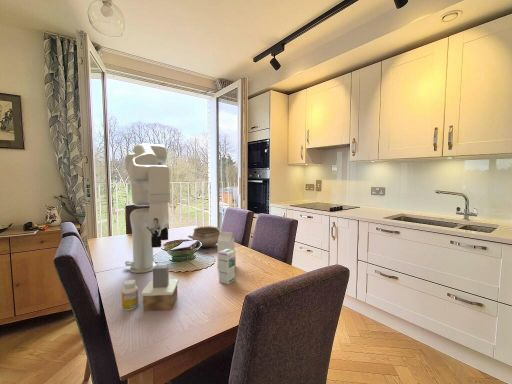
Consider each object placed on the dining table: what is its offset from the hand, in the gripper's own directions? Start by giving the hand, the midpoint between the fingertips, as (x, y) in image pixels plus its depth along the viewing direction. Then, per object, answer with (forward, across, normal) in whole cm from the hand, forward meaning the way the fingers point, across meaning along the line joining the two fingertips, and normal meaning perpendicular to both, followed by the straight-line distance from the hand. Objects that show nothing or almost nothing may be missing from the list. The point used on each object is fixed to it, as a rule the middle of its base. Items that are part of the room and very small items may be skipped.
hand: (160, 243), depth 93 cm
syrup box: (+24, -18, +25) cm, 39 cm away
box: (+24, 0, 0) cm, 24 cm away
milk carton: (+24, -36, +24) cm, 49 cm away
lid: (+18, 0, 0) cm, 18 cm away
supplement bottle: (+24, +1, -11) cm, 26 cm away
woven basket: (+23, -73, +10) cm, 78 cm away
